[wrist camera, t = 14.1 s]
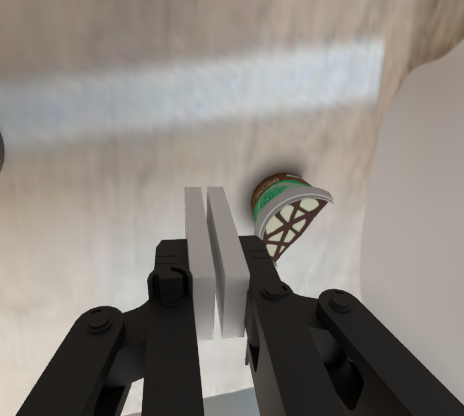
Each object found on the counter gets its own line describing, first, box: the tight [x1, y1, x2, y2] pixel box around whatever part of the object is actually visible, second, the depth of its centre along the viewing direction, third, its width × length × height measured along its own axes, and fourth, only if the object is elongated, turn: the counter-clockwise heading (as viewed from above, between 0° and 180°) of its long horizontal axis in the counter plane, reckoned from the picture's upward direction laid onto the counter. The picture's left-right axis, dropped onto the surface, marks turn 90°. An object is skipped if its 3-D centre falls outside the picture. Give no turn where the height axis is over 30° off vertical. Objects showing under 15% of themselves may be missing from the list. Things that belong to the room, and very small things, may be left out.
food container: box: [251, 173, 334, 267], centre depth 45 cm, size 12×6×10 cm, turn 144°
